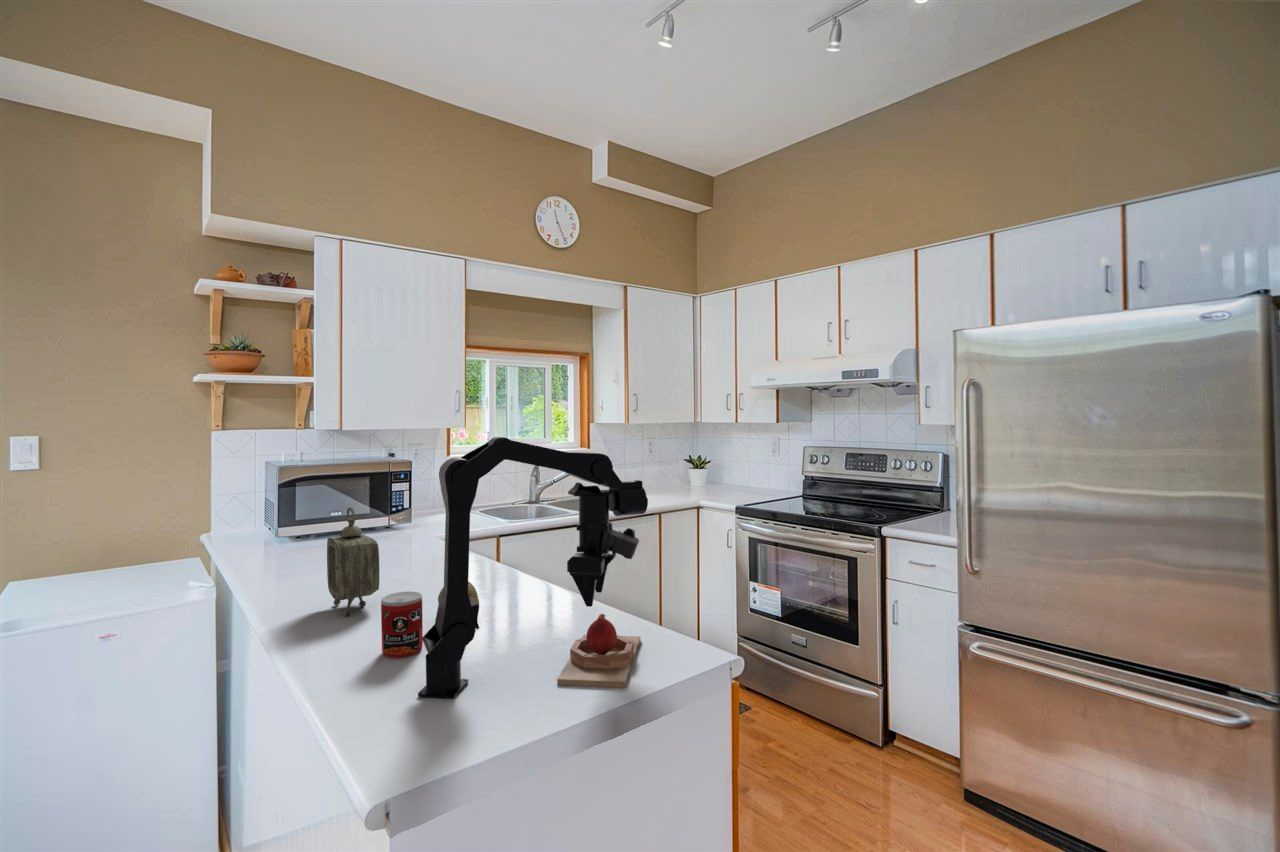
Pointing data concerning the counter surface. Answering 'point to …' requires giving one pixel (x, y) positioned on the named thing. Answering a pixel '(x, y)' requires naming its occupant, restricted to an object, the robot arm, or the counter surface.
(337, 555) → the tabletop clock
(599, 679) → the onion holder
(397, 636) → the canned food
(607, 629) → the onion
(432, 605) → the counter surface
